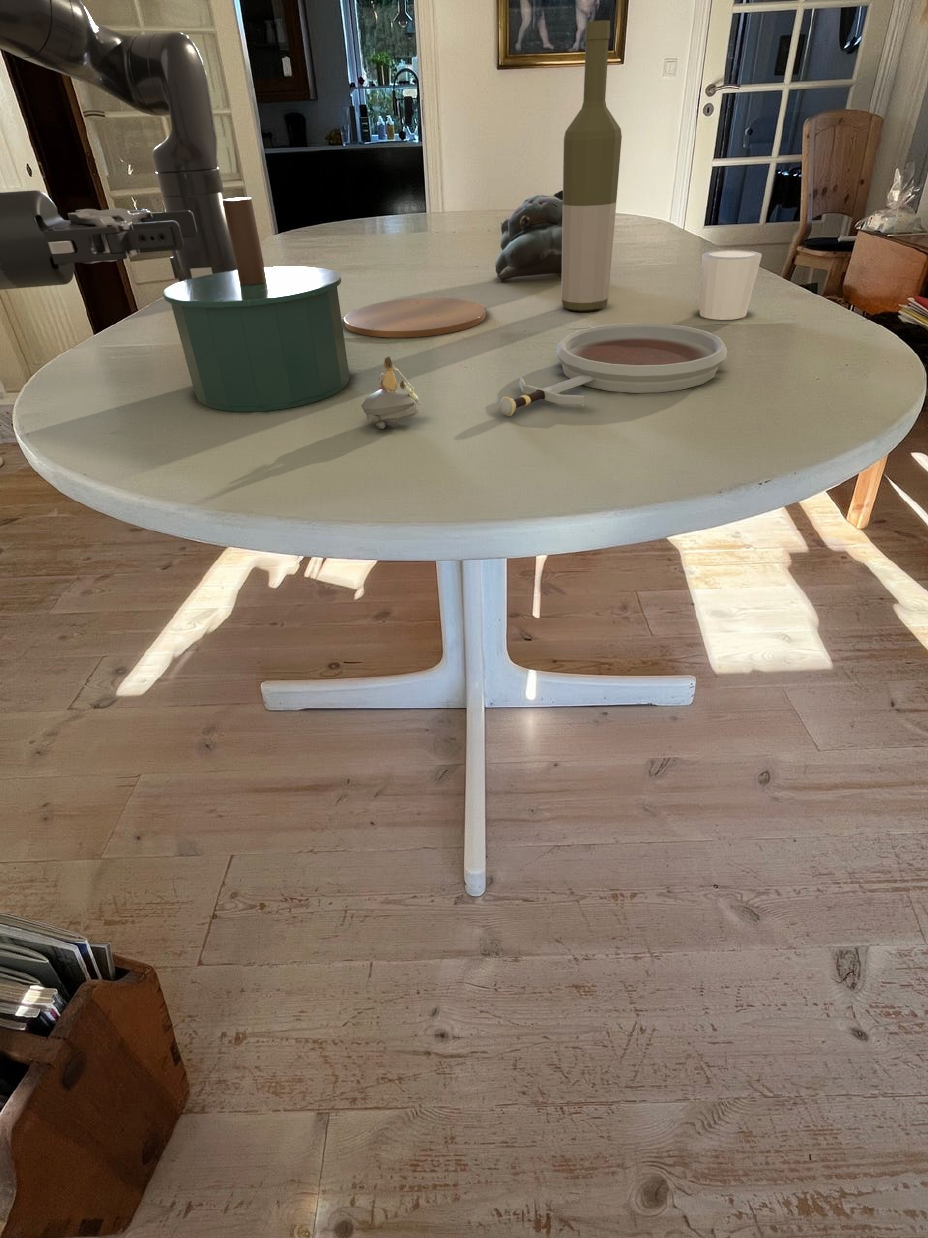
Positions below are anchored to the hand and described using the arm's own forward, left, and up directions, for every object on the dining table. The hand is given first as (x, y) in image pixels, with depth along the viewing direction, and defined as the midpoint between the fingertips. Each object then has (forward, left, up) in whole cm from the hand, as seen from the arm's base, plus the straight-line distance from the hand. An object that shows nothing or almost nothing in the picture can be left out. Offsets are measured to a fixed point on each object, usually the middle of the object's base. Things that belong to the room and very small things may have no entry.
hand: (188, 228), depth 65 cm
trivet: (+2, +33, -15) cm, 36 cm away
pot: (+4, +3, -15) cm, 16 cm away
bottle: (+21, +46, -15) cm, 53 cm away
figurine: (+22, -1, -15) cm, 26 cm away
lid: (+4, +3, -5) cm, 7 cm away
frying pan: (+35, +17, -15) cm, 42 cm away
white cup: (+39, +48, -15) cm, 64 cm away
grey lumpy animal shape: (+5, +64, -15) cm, 66 cm away
